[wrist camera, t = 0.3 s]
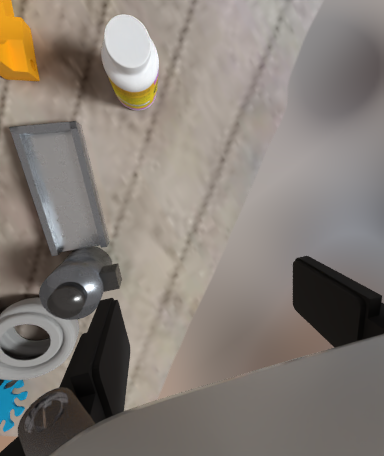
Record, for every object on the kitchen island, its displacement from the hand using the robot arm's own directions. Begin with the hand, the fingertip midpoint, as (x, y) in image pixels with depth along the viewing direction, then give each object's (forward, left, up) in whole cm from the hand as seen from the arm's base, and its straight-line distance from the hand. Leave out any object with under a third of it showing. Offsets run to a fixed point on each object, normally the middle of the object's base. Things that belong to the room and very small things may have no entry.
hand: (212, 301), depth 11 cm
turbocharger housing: (+19, -29, -31) cm, 47 cm away
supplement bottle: (-20, -2, -31) cm, 37 cm away
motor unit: (-1, -15, -30) cm, 34 cm away
